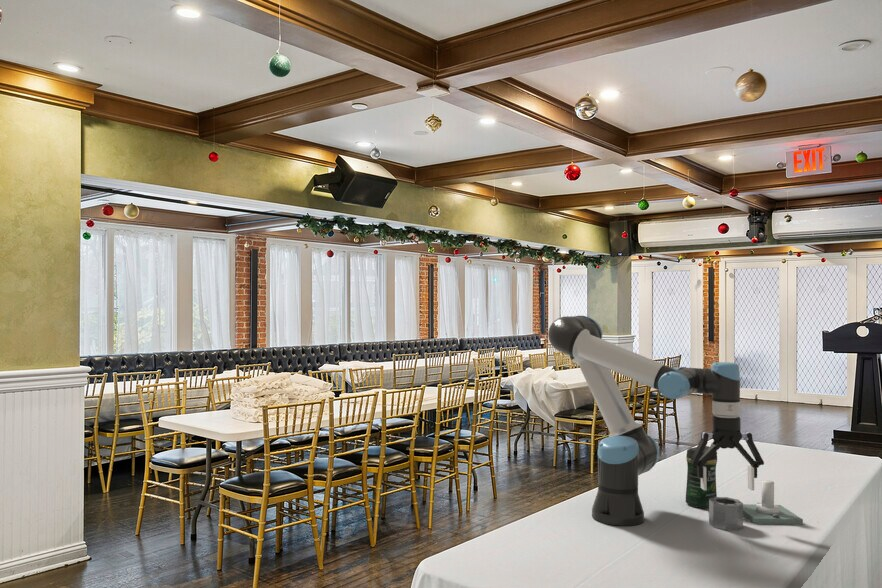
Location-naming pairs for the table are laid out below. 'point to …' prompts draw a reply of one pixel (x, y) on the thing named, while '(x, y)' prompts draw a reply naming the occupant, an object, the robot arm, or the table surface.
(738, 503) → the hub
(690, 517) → the table surface
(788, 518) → the stand
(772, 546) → the table surface
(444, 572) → the table surface
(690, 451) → the coffee jar
